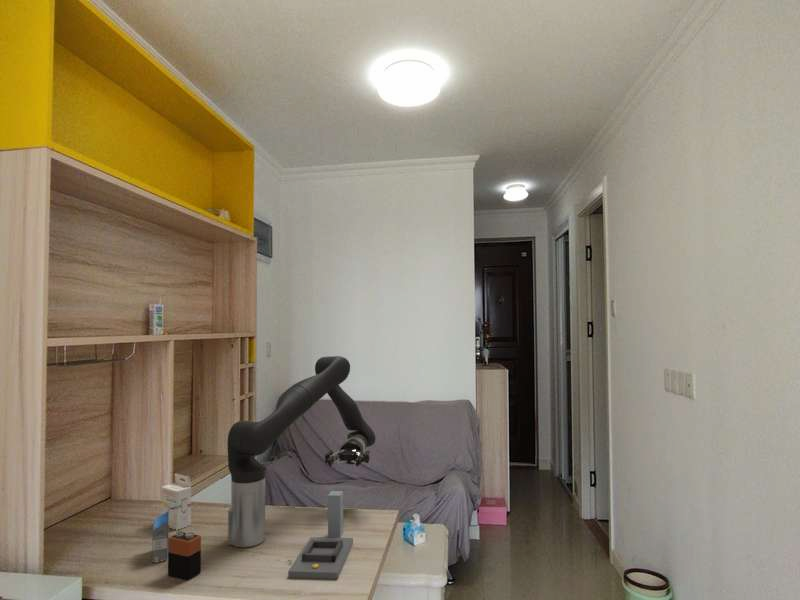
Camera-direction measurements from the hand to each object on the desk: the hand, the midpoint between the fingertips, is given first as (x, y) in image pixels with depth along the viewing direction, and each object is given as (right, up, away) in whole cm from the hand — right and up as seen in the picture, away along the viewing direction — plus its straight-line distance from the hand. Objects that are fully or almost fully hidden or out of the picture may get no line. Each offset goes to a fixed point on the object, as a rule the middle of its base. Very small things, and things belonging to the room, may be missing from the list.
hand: (343, 463), depth 157 cm
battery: (-35, -16, -34) cm, 52 cm away
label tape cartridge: (-46, -17, -23) cm, 54 cm away
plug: (-1, -17, -12) cm, 21 cm away
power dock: (-2, -16, -27) cm, 32 cm away
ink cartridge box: (-51, -18, -3) cm, 54 cm away
